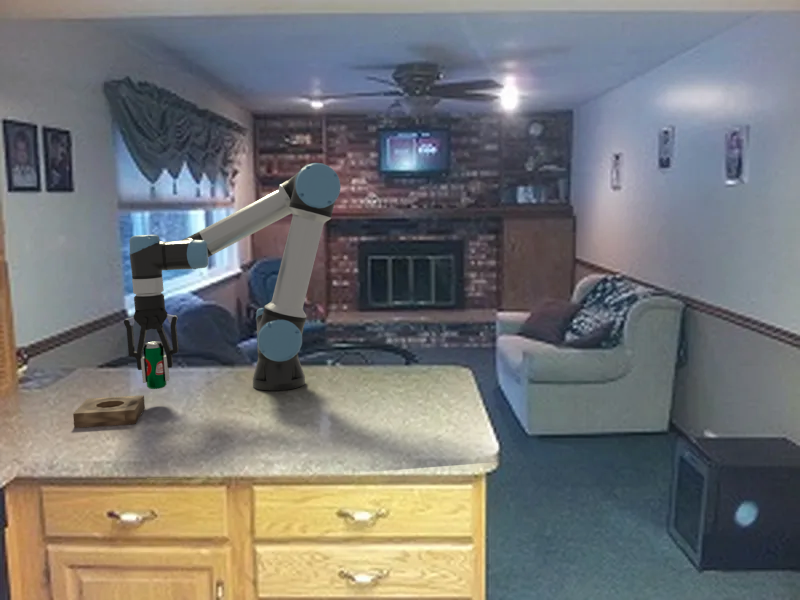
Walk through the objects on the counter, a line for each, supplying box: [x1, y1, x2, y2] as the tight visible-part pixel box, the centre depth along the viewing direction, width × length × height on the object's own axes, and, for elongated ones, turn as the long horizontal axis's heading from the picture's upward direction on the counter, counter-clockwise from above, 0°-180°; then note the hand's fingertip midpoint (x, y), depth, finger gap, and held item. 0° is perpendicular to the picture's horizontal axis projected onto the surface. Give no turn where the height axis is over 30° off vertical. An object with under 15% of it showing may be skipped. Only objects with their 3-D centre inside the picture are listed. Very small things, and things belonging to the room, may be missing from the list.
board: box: [72, 395, 146, 429], centre depth 183 cm, size 14×14×4 cm
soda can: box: [143, 341, 168, 390], centre depth 194 cm, size 5×5×12 cm
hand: (156, 380), depth 195 cm, fingers closed on soda can, 5 cm apart
